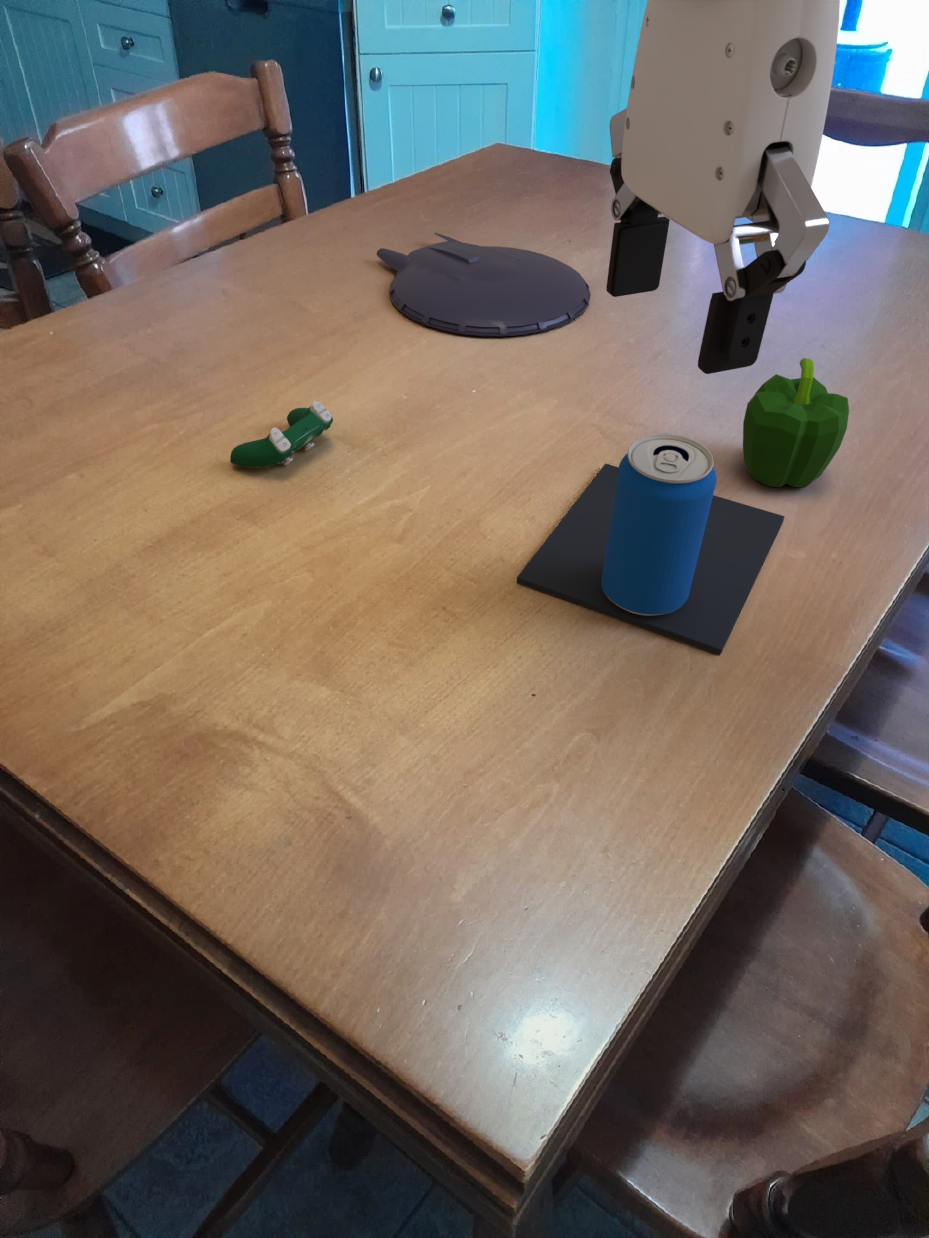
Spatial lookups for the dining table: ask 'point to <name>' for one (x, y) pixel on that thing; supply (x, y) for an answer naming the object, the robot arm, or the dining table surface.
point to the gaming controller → (284, 439)
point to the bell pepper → (793, 429)
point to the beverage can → (657, 523)
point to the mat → (718, 580)
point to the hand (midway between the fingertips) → (675, 327)
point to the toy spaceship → (485, 288)
